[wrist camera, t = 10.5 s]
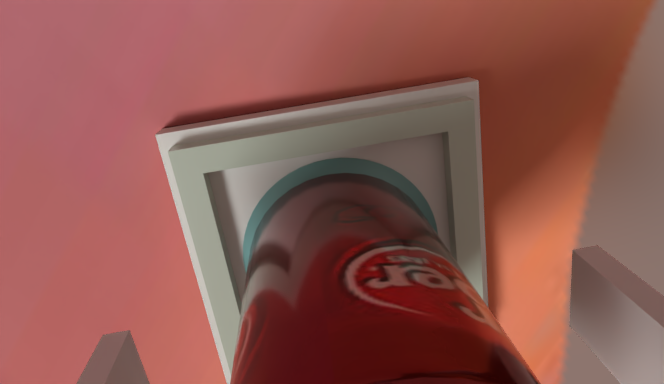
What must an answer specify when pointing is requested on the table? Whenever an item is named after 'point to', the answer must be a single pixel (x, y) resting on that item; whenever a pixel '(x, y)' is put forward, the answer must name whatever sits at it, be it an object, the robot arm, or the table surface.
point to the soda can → (363, 296)
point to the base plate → (317, 160)
